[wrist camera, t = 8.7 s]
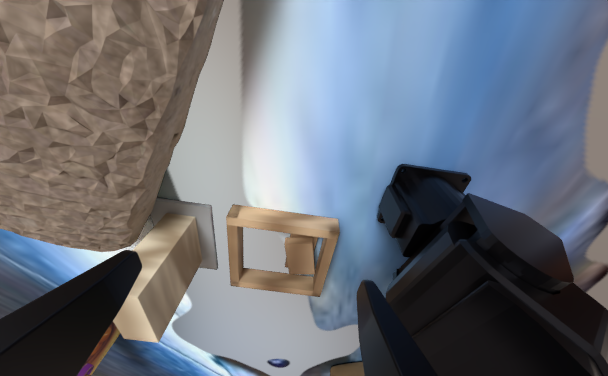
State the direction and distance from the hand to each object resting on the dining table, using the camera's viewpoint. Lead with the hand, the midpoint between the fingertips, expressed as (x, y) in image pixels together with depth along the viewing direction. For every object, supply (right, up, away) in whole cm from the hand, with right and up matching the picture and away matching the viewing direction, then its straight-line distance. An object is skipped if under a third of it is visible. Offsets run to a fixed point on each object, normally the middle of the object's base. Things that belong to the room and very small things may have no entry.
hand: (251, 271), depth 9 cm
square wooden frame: (-1, -4, +17) cm, 18 cm away
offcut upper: (+2, -4, +17) cm, 18 cm away
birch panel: (-11, -2, +16) cm, 20 cm away
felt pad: (-11, -2, +17) cm, 20 cm away
